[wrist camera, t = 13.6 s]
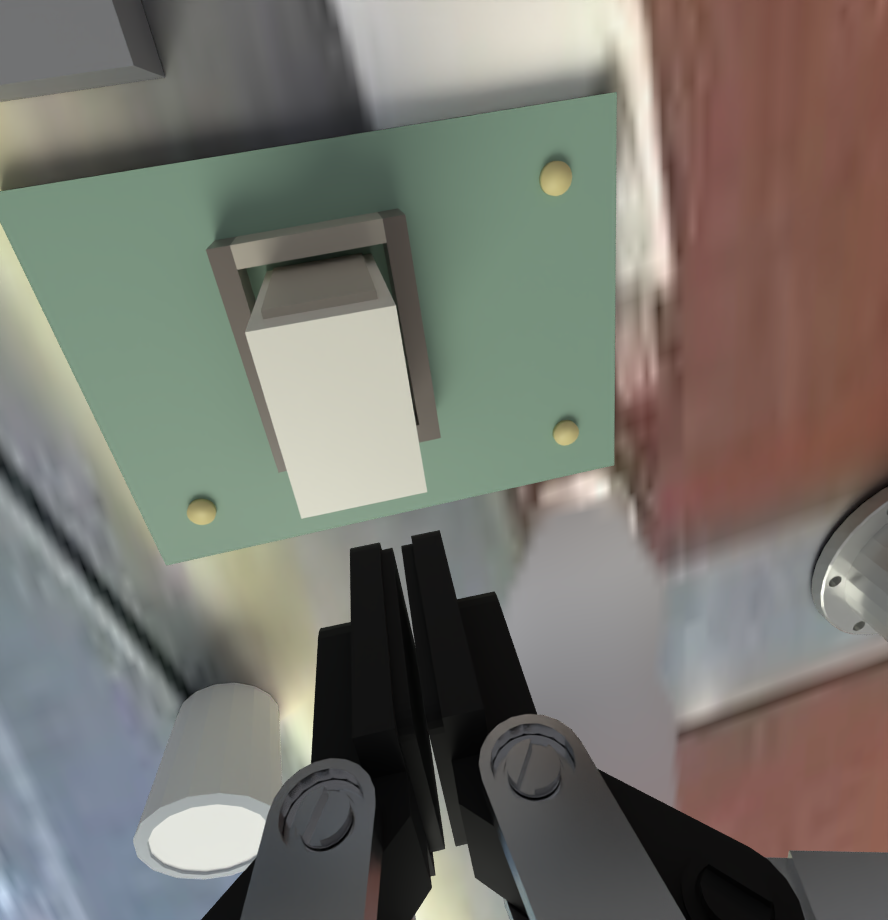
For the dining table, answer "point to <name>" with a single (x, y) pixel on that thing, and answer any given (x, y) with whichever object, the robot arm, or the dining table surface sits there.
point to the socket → (317, 240)
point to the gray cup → (213, 784)
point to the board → (437, 278)
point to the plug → (336, 384)
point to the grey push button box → (73, 46)
